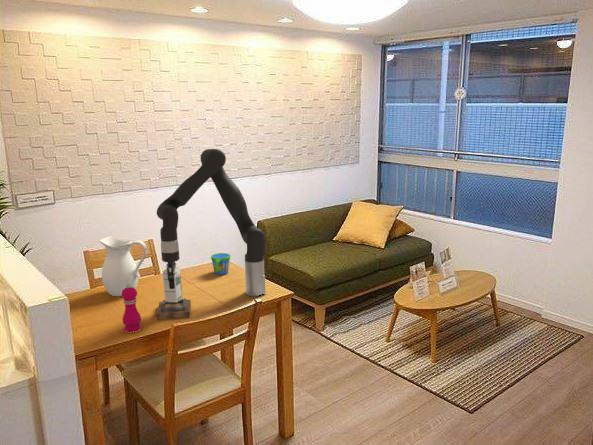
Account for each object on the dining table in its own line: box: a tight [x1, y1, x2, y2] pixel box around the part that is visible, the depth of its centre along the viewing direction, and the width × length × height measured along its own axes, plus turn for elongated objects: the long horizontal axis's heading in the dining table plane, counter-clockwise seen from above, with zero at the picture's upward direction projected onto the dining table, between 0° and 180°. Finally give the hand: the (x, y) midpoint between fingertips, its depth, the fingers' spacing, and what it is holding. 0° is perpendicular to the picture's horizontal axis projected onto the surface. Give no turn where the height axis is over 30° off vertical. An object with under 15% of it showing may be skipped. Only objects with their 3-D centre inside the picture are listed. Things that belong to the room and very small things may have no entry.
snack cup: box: [210, 252, 231, 276], centre depth 270 cm, size 16×10×10 cm
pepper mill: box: [121, 284, 142, 333], centre depth 201 cm, size 7×7×20 cm
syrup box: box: [162, 266, 183, 303], centre depth 217 cm, size 6×6×14 cm
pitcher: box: [98, 235, 148, 297], centre depth 240 cm, size 24×17×28 cm
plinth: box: [156, 298, 192, 321], centre depth 220 cm, size 14×14×4 cm
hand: (172, 285), depth 218 cm, fingers closed on syrup box, 7 cm apart
